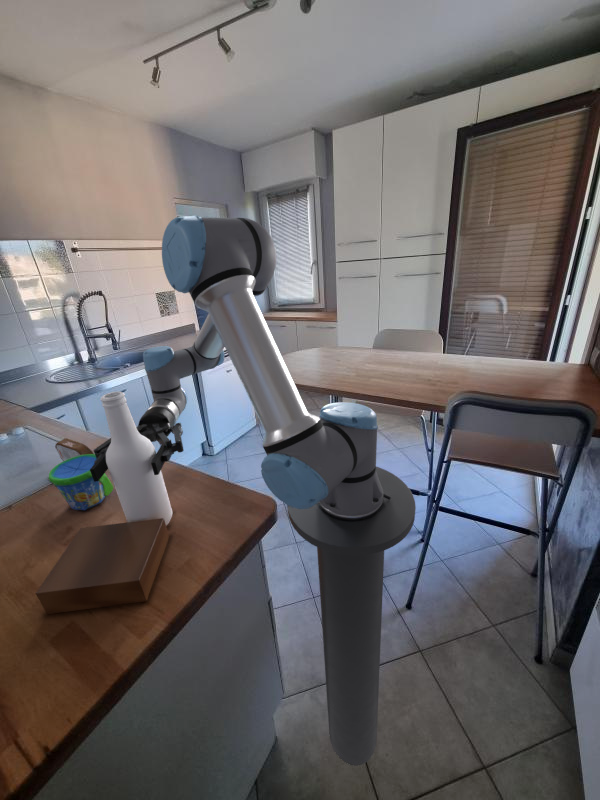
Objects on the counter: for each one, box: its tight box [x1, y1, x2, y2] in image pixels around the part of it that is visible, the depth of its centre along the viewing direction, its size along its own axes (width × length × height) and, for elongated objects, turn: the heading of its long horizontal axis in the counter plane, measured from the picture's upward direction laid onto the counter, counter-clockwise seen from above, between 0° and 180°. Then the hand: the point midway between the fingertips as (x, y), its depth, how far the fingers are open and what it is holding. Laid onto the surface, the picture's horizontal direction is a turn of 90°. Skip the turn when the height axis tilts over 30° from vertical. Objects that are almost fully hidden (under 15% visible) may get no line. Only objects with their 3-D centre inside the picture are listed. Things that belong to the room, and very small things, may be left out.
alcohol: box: [99, 391, 173, 527], centre depth 66 cm, size 9×9×30 cm
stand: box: [35, 518, 170, 615], centre depth 60 cm, size 16×14×5 cm
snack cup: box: [48, 453, 114, 511], centre depth 79 cm, size 16×10×10 cm
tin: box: [54, 437, 95, 462], centre depth 93 cm, size 15×3×8 cm, turn 62°
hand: (124, 472), depth 62 cm, fingers open, 10 cm apart
